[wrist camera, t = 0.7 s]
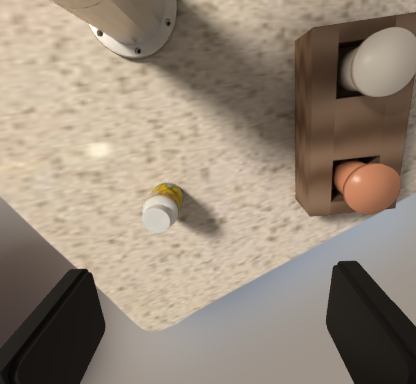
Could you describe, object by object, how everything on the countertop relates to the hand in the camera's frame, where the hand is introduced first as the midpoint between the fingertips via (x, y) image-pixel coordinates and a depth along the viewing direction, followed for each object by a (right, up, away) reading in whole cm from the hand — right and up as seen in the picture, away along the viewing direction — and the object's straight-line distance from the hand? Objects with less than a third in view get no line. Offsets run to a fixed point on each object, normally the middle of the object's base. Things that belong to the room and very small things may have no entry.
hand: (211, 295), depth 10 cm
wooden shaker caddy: (+20, +15, +29) cm, 38 cm away
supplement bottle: (-7, +3, +34) cm, 35 cm away
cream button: (+19, +19, +21) cm, 34 cm away
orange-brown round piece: (+20, +6, +26) cm, 34 cm away
